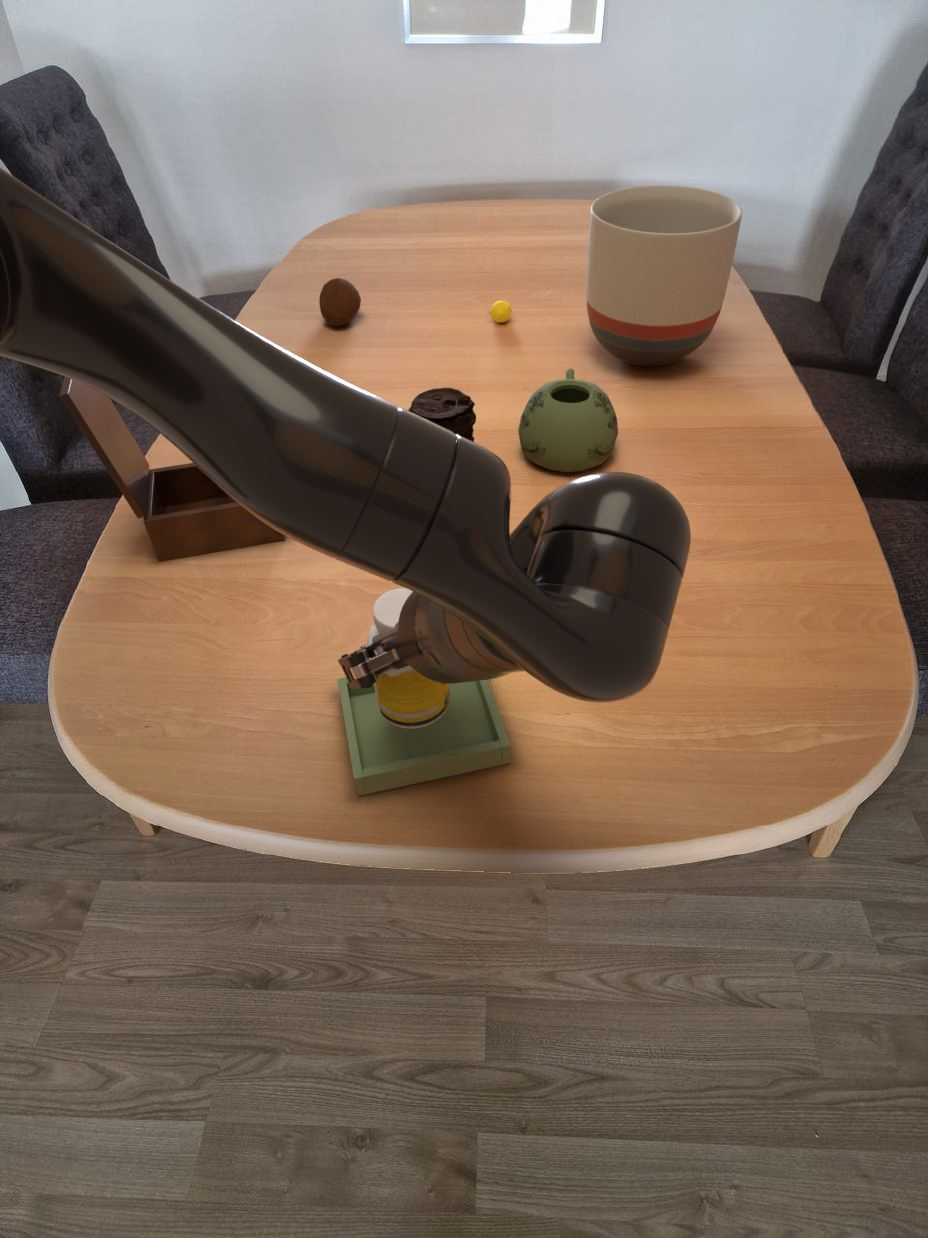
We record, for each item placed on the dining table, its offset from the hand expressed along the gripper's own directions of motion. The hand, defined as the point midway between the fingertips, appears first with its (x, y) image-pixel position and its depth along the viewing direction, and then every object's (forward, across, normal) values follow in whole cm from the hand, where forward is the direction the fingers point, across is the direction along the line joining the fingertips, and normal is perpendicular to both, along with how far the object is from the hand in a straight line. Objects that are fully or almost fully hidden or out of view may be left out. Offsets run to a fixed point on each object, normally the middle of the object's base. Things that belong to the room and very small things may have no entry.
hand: (398, 645), depth 68 cm
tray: (+6, 0, +8) cm, 10 cm away
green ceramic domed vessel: (+27, -41, -13) cm, 51 cm away
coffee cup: (+26, -22, -13) cm, 37 cm away
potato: (+65, -35, -52) cm, 90 cm away
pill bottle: (+3, 0, +6) cm, 6 cm away
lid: (+26, +11, -33) cm, 43 cm away
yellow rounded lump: (+53, -57, -40) cm, 88 cm away
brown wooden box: (+34, +3, -21) cm, 40 cm away
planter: (+36, -67, -22) cm, 79 cm away
